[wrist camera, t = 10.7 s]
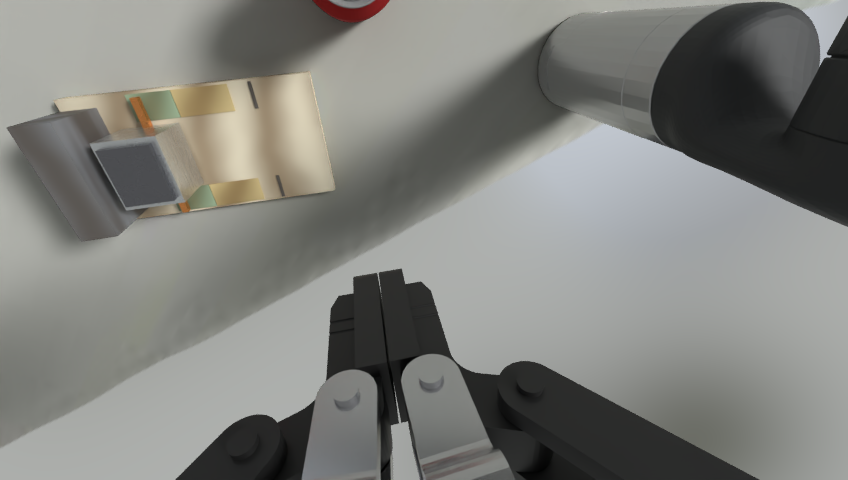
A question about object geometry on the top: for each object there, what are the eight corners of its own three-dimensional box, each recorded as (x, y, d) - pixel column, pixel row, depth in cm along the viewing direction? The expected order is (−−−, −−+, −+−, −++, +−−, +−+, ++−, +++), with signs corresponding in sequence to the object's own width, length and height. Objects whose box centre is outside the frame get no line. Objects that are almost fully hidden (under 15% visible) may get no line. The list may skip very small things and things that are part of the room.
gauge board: (309, 71, 35) (301, 80, 29) (335, 186, 42) (333, 213, 35) (62, 97, 33) (-3, 113, 27) (128, 215, 39) (87, 250, 33)
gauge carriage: (166, 93, 33) (136, 104, 28) (213, 205, 39) (194, 230, 34) (107, 99, 32) (65, 112, 28) (163, 212, 38) (137, 238, 33)
